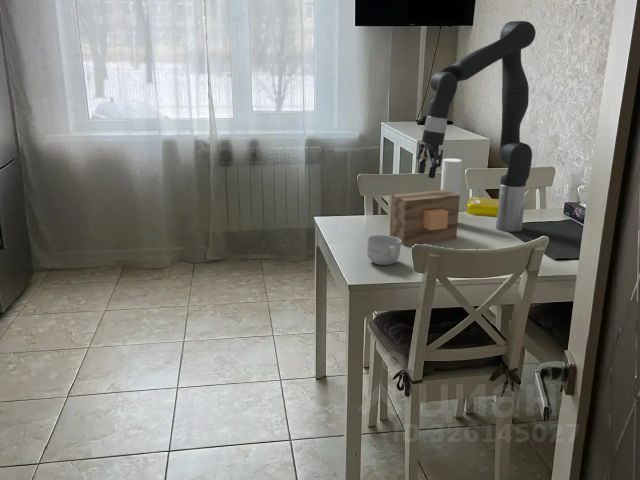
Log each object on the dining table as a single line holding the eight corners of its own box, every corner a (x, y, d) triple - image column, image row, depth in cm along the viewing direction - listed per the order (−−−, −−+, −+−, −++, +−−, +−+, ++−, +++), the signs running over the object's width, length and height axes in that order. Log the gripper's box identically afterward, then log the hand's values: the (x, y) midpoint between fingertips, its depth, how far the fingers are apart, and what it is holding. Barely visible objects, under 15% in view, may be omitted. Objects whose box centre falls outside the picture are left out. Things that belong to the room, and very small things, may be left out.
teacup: (364, 257, 206) (365, 233, 204) (396, 256, 207) (397, 233, 205) (371, 271, 193) (372, 247, 191) (405, 271, 194) (407, 246, 192)
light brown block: (447, 228, 218) (448, 211, 216) (429, 230, 215) (431, 213, 214) (434, 222, 225) (435, 206, 223) (417, 224, 222) (418, 207, 221)
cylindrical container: (443, 219, 251) (447, 157, 244) (459, 222, 247) (464, 159, 240) (435, 223, 246) (439, 160, 238) (452, 226, 242) (457, 162, 234)
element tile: (503, 218, 256) (504, 206, 254) (466, 214, 260) (466, 203, 259) (504, 209, 270) (505, 198, 268) (468, 206, 274) (469, 195, 272)
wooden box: (456, 238, 227) (459, 195, 222) (403, 245, 218) (405, 201, 214) (440, 231, 235) (443, 189, 231) (389, 237, 227) (391, 194, 222)
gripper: (453, 134, 214) (444, 180, 218) (435, 128, 227) (426, 172, 231) (434, 131, 212) (424, 178, 216) (416, 126, 225) (408, 170, 229)
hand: (426, 175), depth 224 cm, fingers open, 8 cm apart
